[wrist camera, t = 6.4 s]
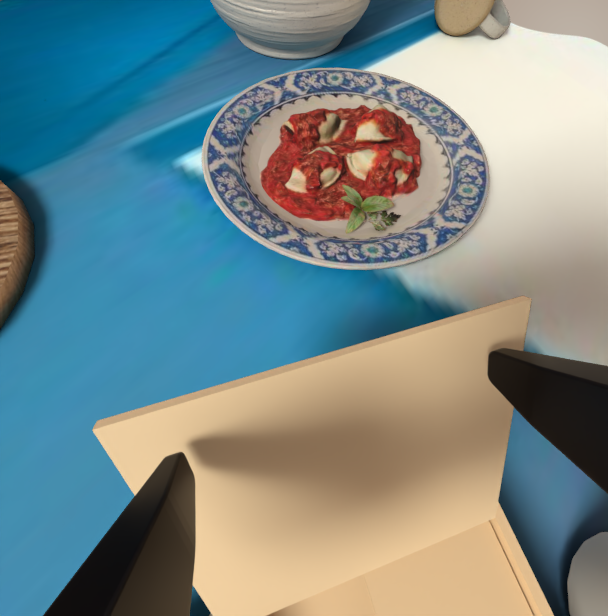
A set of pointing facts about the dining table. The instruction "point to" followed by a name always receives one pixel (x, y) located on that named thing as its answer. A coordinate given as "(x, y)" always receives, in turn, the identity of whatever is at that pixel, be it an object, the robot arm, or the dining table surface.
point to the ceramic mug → (472, 16)
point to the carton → (441, 581)
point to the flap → (333, 458)
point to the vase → (291, 24)
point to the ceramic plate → (345, 168)
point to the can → (589, 578)
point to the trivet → (14, 250)
